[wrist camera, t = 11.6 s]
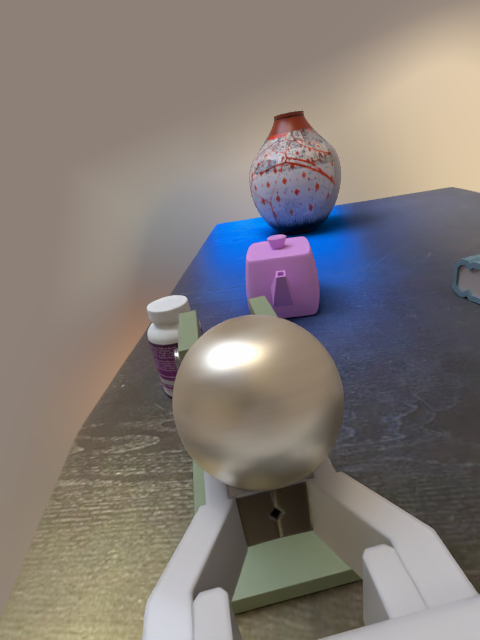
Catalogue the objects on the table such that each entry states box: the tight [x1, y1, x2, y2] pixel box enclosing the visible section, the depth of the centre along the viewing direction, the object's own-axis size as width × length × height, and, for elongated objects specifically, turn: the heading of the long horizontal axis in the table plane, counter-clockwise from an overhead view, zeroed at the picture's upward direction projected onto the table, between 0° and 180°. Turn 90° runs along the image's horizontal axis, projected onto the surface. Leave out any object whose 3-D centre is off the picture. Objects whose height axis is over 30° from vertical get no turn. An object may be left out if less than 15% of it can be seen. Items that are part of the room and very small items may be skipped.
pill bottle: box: [147, 295, 203, 397], centre depth 35 cm, size 5×5×10 cm
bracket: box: [174, 296, 362, 614], centre depth 21 cm, size 12×9×14 cm
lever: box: [172, 315, 344, 491], centre depth 13 cm, size 14×4×4 cm, turn 9°
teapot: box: [246, 234, 320, 318], centre depth 50 cm, size 18×10×10 cm, turn 174°
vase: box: [249, 111, 341, 234], centre depth 90 cm, size 23×23×28 cm
